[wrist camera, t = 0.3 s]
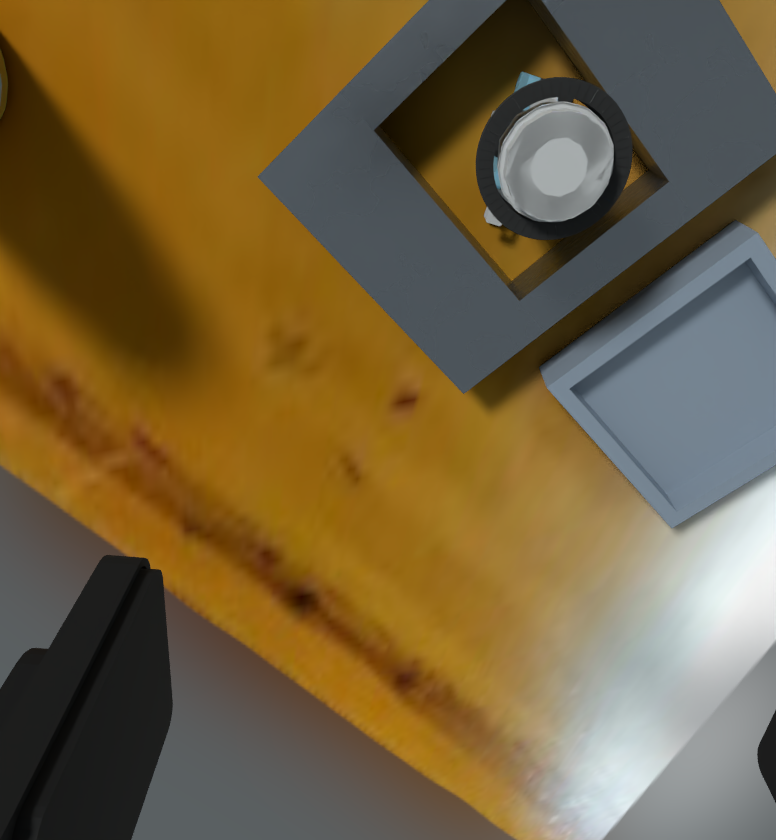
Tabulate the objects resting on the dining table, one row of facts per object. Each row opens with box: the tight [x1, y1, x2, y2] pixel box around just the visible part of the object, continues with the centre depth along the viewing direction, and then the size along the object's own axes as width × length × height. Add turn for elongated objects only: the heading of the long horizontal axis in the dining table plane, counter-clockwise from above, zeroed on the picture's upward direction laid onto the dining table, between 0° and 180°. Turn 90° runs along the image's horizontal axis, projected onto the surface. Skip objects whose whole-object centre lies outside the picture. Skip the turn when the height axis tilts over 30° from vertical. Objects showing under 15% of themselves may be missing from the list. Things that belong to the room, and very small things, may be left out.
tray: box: [539, 220, 776, 528], centre depth 37 cm, size 12×12×2 cm
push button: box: [476, 72, 633, 240], centre depth 29 cm, size 7×5×10 cm
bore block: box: [258, 0, 776, 394], centre depth 32 cm, size 18×14×3 cm
